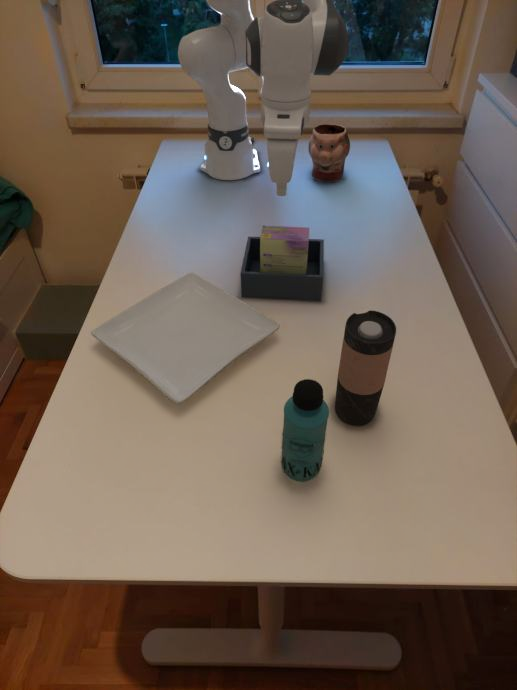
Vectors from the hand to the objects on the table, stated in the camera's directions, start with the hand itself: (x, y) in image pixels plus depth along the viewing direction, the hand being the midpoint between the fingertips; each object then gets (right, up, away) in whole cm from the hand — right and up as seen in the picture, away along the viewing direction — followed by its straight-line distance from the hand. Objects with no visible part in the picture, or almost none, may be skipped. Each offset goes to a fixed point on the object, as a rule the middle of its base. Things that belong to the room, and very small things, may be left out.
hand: (283, 182), depth 100 cm
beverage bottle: (+2, -53, -20) cm, 56 cm away
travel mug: (+12, -44, -11) cm, 47 cm away
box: (+1, -17, +16) cm, 23 cm away
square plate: (-19, -32, +2) cm, 37 cm away
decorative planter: (+16, +20, +54) cm, 60 cm away
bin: (+1, -17, +16) cm, 24 cm away
